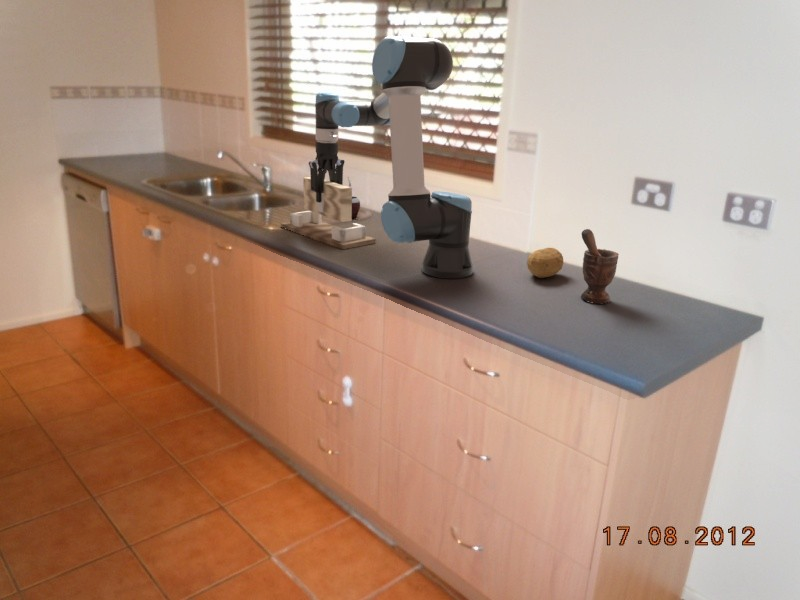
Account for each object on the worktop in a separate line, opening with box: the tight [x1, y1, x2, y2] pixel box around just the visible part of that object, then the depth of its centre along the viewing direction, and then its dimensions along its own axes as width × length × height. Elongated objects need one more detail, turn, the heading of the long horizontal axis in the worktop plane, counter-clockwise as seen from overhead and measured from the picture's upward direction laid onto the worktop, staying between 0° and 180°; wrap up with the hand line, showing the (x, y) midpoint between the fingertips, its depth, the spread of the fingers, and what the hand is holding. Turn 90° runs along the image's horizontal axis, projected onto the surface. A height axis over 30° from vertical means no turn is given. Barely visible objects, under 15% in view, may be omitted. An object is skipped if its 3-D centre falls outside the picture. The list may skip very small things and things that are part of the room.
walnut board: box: [280, 221, 377, 250], centre depth 232 cm, size 36×14×2 cm, turn 43°
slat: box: [302, 176, 353, 223], centre depth 227 cm, size 24×4×11 cm, turn 39°
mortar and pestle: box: [580, 228, 619, 304], centre depth 173 cm, size 12×9×20 cm
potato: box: [526, 247, 564, 279], centre depth 195 cm, size 10×14×8 cm
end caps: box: [289, 210, 367, 242], centre depth 231 cm, size 30×10×4 cm, turn 43°
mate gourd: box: [347, 176, 361, 218], centre depth 257 cm, size 8×8×15 cm
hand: (326, 210), depth 229 cm, fingers closed on slat, 4 cm apart
